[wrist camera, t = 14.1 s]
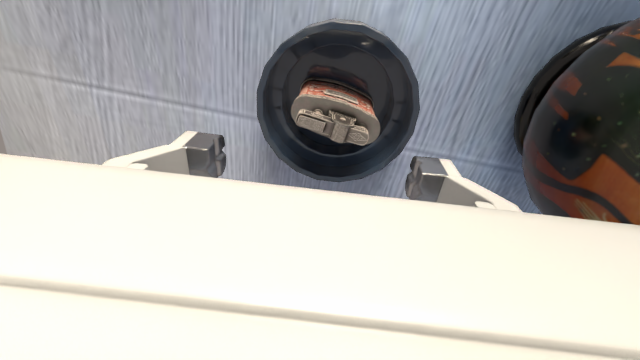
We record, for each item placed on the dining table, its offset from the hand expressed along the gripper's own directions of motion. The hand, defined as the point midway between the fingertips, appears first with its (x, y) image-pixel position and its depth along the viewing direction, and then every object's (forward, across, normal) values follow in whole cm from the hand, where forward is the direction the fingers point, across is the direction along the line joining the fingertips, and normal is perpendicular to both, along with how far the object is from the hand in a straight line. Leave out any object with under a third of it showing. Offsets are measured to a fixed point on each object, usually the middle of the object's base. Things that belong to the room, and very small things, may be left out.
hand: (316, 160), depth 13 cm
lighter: (+21, -1, +3) cm, 22 cm away
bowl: (+22, -1, +3) cm, 22 cm away
